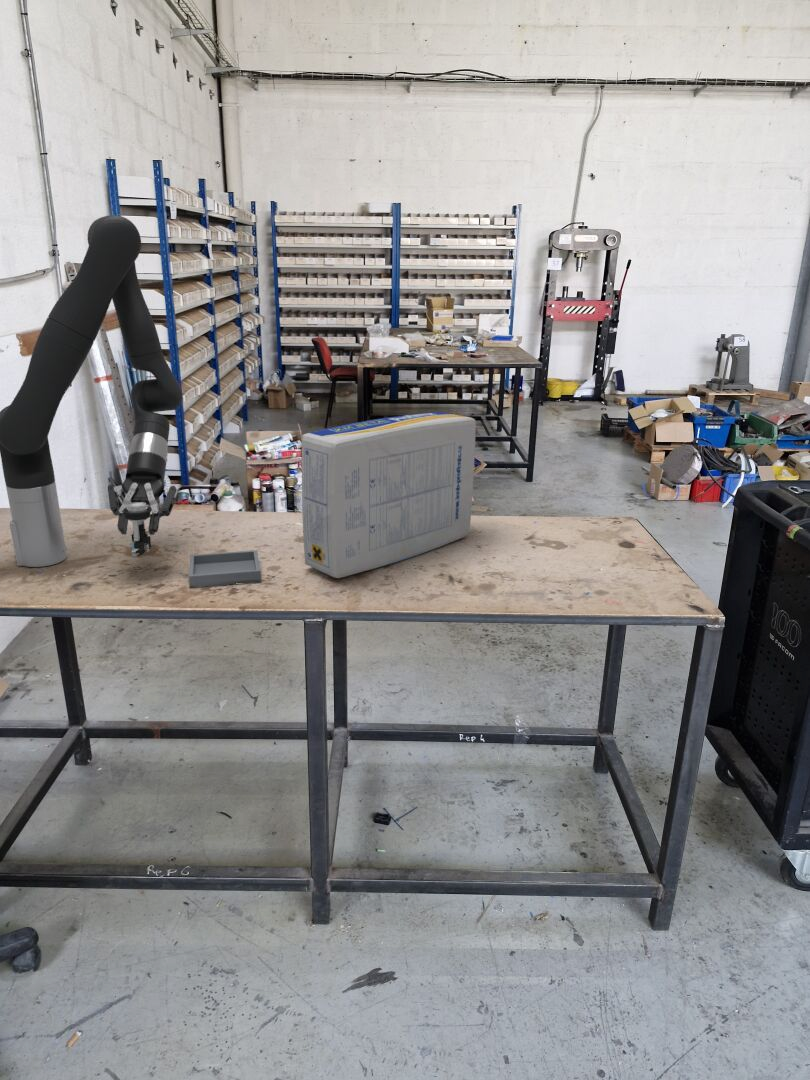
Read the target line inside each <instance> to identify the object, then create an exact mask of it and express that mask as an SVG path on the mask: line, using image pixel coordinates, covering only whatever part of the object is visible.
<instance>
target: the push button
mask: <svg viewBox="0 0 810 1080" xmlns="http://www.w3.org/2000/svg"><path fill="white" fill-rule="evenodd" d="M123 513H124V514H125V518H126V519H128V521H130V522H131V524H132V534H130V535H131V541H132V542H131V544H130V545H131V557H138V556H143V555H144V554H145V553H146V552H147V553H148V552H149V551H150V550H151V549H152V542H151V535H150V536H149V534H148V533H146V530H147V529H146V528H145V527H146V525H145V521H147V520H148V519H150V515H151V513H152V509H151V506H148V505H146V503H143V502H134V503H130V504H128V505H127V508H125V509H123Z"/></svg>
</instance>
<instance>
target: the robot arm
mask: <svg viewBox="0 0 810 1080" xmlns="http://www.w3.org/2000/svg"><path fill="white" fill-rule="evenodd" d="M87 243H88V247H87V250H86V253H85V255H84V258H83V260H82V262H81V265H80V268H79V269H78V272H77V274H76V275H75V277H74V278H73V280H71V282H70V283H69V285H68V286H67V288H65V290H64V291H63V292H62V294H61V295H60V297H59V298H58V299H57V300H56V302H55V304H54V305H53V307H52V309H51V310H50V312H49V314H48V316H47V317H46V320H45V322H44V324H43V326H42V328H41V331H40V332H39V335H38V337H37V339H36V342H35V345H34V346H33V347H34V348H33V350H32V354H31V357H30V360H29V364H28V367H27V371H26V374H25V378H24V380H23V382H22V384H21V386H20V388H19V390H18V391H17V393H16V394H15V397H13V400H12V401H11V403H10V404H9V405H7V406H5V407H4V408H2V409H1V410H0V459H1V467H2V472H3V478H4V483H5V488H6V493H7V494H6V495H7V498H8V504H9V510H10V516H11V521H10V523H9V529H10V532H11V539H12V544H13V550H14V555H15V560H16V566H17V567H21V566H24V567H30V568H39V567H41V568H42V567H47V566H52V565H55V564H59V563H61V562H63V561H65V560H66V559H67V558H68V554H67V546H66V541H65V534H64V527H63V521H62V516H61V510H60V509H61V508H60V503H59V498H58V497H59V496H58V492H57V484H56V477H55V471H54V466H53V462H52V461H53V460H52V455H51V449H50V444H49V438H48V437H49V434H50V432H51V427H52V426H53V425H52V424H53V422H54V419H55V417H56V415H57V414H56V413H57V411H58V408H59V406H60V403H61V401H62V399H63V397H64V395H65V394H66V392H67V390H68V389H69V387H70V386H71V385H72V383H73V381H74V380H75V378H76V376H77V375H78V373H79V371H80V369H81V367H82V365H83V364H84V362H85V360H86V359H87V357H88V355H89V353H90V351H91V349H92V347H93V345H94V344H95V341H96V338H97V336H98V334H99V332H100V331H101V330H100V329H101V327H102V325H103V323H104V319H105V317H106V316H107V313H108V310H109V307H110V305H111V302H113V307H114V310H115V313H116V317H117V321H118V324H119V328H120V333H121V336H122V339H123V343H124V346H125V349H126V354H127V357H128V360H129V364H130V365H131V367H132V368H133V369H134V370H136V371H143V372H144V371H145V372H148V373H151V374H152V376H154V378H153V379H143V380H142V379H141V380H139V381H137V382H135V384H134V385H132V388H131V390H130V398H131V403H132V409H133V415H134V429H133V435H132V441H131V443H130V446H129V453H128V457H127V466H126V471H125V479H124V481H123V482H122V483H121V485H117V486H114V484H108V485H107V492H108V501H109V502H108V503H109V508H110V511H111V513H112V514H113V515H114V516H116V517H117V516H118V519H117V520H118V521H117V525H116V526H117V530H118V532H120V534H121V535H127V532H128V526H129V520H128V519H126V518H125V514H124V513H123V509H125V508H127V505H128V504H130V503H134V502H143V503H146V506H148V505H149V507H151V509H152V511H151V513H150V517H149V523H148V533H149V535H150V536H152V535H153V536H154V535H155V534H156V533H158V531H159V528H160V527H159V526H160V518H162V517H169V516H170V515H171V513H172V510H173V508H174V506H175V503H176V501H177V499H178V495H179V491H178V490H177V487H176V486H175V485H171V486H169V485H168V486H166V485H165V476H166V468H167V463H168V454H169V453H168V443H169V436H170V427H171V425H170V421H169V419H168V418H167V417H166V416H165V415H164V414H161V413H159V412H166V411H167V412H168V411H175V410H177V409H179V407H181V405H182V402H183V391H182V387H181V386H180V385H181V384H180V383H179V381H178V380H177V378H176V376H175V374H174V373H173V372H172V370H171V368H170V366H169V364H168V363H167V360H166V357H165V356H164V353H163V349H162V346H161V341H160V339H159V334H158V331H157V328H156V325H155V322H154V319H153V317H152V315H151V311H150V310H149V307H148V304H147V303H146V300H145V298H144V294H143V292H142V289H141V286H140V282H139V279H138V275H137V268H136V260H137V259H138V257H139V255H140V253H141V248H142V238H141V235H140V231H139V230H138V228H137V226H136V225H135V224H134V223H133V221H131V220H130V219H128V218H126V217H124V216H121V215H116V214H111V215H104V216H102V217H99V218H97V219H95V220H94V221H93V222H92V223H91V225H90V226H89V228H88V230H87ZM122 492H123V493H124V494H125V497H124V499H122V501H123V502H122V504H121V506H120V505H119V498H121V497H120V496H121V494H122ZM163 494H164V495H165V496H166V497H165V498H164V501H163V503H162V505H161V507H159V503H158V501H157V500H158V499H159V498H160V497H161V496H162V495H163Z"/></svg>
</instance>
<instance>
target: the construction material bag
mask: <svg viewBox="0 0 810 1080" xmlns="http://www.w3.org/2000/svg"><path fill="white" fill-rule="evenodd" d="M476 429H477V427H476V419H475V418H473V417H470V416H466V415H465V416H464V415H460V414H454V413H449V412H443V411H438V412H437V411H436V412H427V413H416V414H408V415H407V414H406V415H398V416H389V417H381V418H375V419H369V420H364V421H359V422H353V423H347V424H343V425H339V426H333V427H329V428H325V429H321V430H316V431H315V430H314V431H312V432H311V431H309V432H307V433H305V434H302V435H301V511H302V532H303V533H302V534H303V535H302V536H303V550H304V564H305V565H306V566H309V567H310V568H313V569H315V570H317V571H319V572H322V573H324V574H326V575H328V576H330V577H333V578H335V579H341V578H345V577H348V576H353V575H355V574H360V573H363V572H366V571H370V570H374V569H377V568H381V567H384V566H387V565H391V564H394V563H398V562H400V561H405V560H407V559H411V558H413V557H416V556H418V555H422V554H425V553H427V552H429V551H432V550H435V549H438V548H440V547H443V546H445V545H448V544H451V543H452V542H456V541H457V540H459V539H462V538H463V539H464V538H465V537H467V536H468V535H469V534H470V528H471V520H472V519H471V518H472V505H473V493H474V492H473V491H474V490H473V489H474V475H475V473H474V472H475V458H476V457H475V455H476V454H475V453H476V432H477V431H476Z"/></svg>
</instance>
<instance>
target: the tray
mask: <svg viewBox="0 0 810 1080" xmlns="http://www.w3.org/2000/svg"><path fill="white" fill-rule="evenodd" d="M259 559H260V558H259V554H258V549H256V550H255V549H253V550H242V551H241V550H240V551H228V552H227V551H226V552H214V553H213V552H211V553H210V552H209V553H197V554H190V556H189V569H188V583H189V589H192V588H193V589H194V588H195V587H196V588H207V587H206V586H208V587H219V586H230V585H229V584H233V585H237V584H236V583H245V584H252V583H251V582H257V583H262V574H261V566H260V560H259Z"/></svg>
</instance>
